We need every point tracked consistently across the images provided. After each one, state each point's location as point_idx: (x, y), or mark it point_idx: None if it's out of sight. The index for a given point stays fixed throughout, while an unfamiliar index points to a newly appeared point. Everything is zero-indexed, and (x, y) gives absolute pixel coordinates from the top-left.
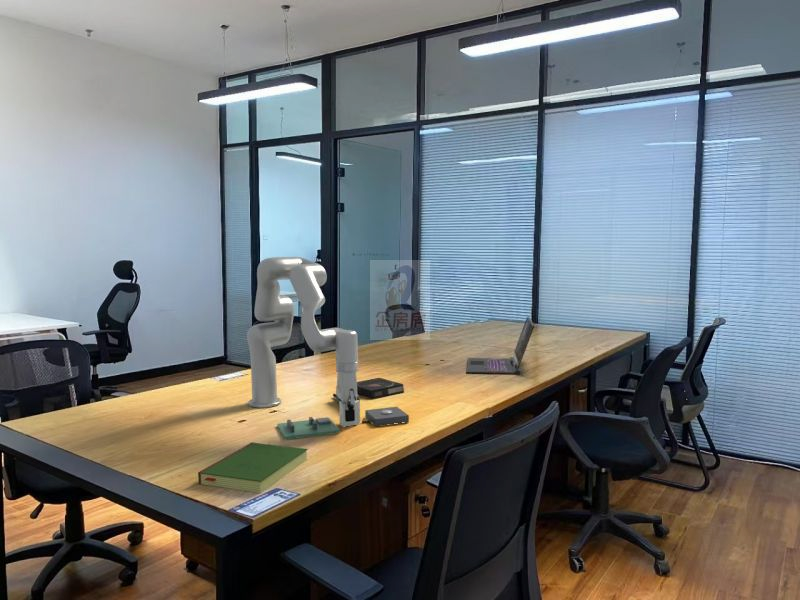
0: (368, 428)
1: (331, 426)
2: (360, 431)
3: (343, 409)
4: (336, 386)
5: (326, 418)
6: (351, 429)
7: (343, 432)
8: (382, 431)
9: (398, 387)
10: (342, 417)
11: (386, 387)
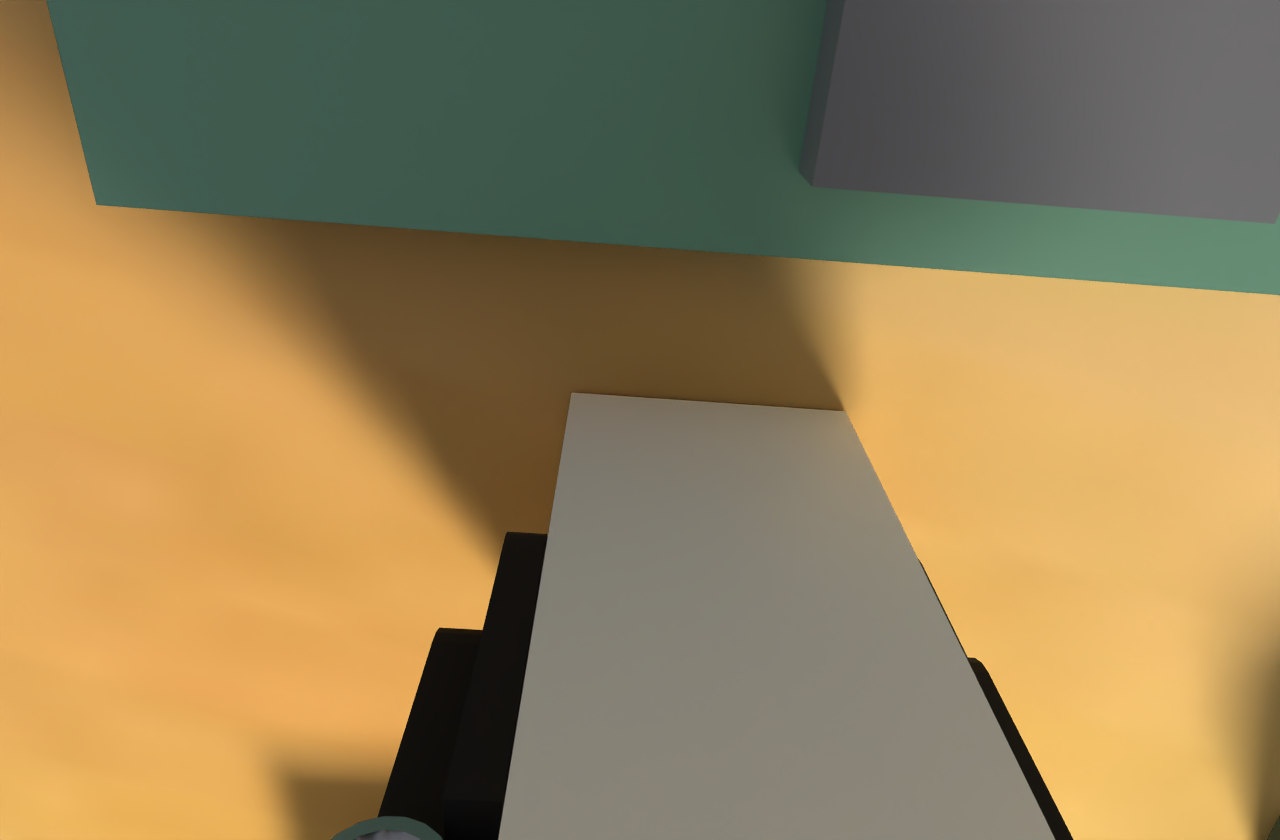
0: (311, 738)
1: (498, 86)
2: (164, 591)
3: (511, 779)
4: None
5: (1178, 152)
6: (347, 495)
7: (170, 280)
8: (90, 836)
9: None
10: (564, 532)
11: None
